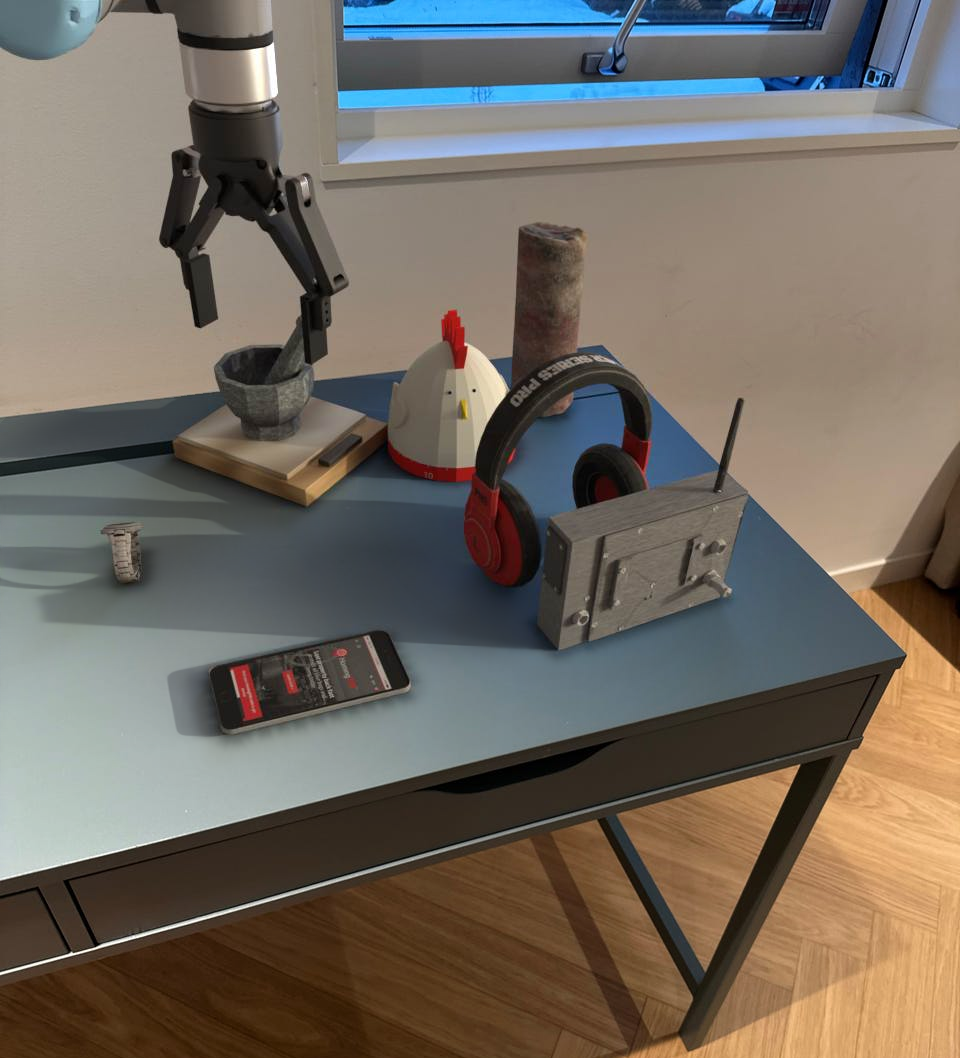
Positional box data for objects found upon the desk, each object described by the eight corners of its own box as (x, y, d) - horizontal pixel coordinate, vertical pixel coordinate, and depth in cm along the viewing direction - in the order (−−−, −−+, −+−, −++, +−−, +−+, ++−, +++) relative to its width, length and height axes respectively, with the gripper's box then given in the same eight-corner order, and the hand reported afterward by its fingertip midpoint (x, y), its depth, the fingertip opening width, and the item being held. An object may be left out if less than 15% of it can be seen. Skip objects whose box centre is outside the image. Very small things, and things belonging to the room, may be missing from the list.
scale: (175, 457, 99) (170, 436, 97) (265, 398, 108) (262, 377, 107) (307, 507, 93) (304, 485, 91) (388, 439, 103) (388, 418, 101)
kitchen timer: (399, 487, 96) (396, 350, 86) (378, 419, 106) (373, 289, 96) (529, 474, 99) (541, 339, 89) (497, 409, 109) (504, 281, 98)
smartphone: (206, 667, 75) (386, 627, 79) (208, 673, 76) (387, 633, 80) (222, 732, 70) (413, 686, 74) (223, 738, 71) (413, 692, 75)
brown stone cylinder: (495, 399, 110) (504, 224, 97) (539, 380, 114) (553, 209, 100) (541, 425, 106) (558, 246, 93) (585, 404, 110) (607, 230, 96)
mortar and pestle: (220, 451, 95) (200, 339, 87) (227, 405, 102) (209, 297, 94) (331, 448, 96) (322, 337, 88) (331, 402, 103) (323, 295, 95)
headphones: (503, 618, 82) (518, 415, 68) (446, 556, 88) (449, 358, 74) (658, 558, 89) (700, 363, 75) (595, 505, 95) (623, 315, 82)
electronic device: (693, 572, 88) (742, 376, 74) (738, 615, 84) (800, 416, 70) (532, 624, 82) (553, 420, 68) (572, 673, 77) (603, 467, 64)
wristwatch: (151, 549, 87) (140, 504, 84) (148, 591, 83) (136, 546, 79) (112, 552, 87) (99, 508, 83) (107, 595, 82) (93, 550, 79)
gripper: (383, 117, 77) (387, 359, 91) (151, 67, 85) (188, 296, 99) (330, 138, 72) (342, 390, 86) (88, 82, 80) (137, 321, 94)
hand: (260, 340), depth 93 cm, fingers open, 13 cm apart
